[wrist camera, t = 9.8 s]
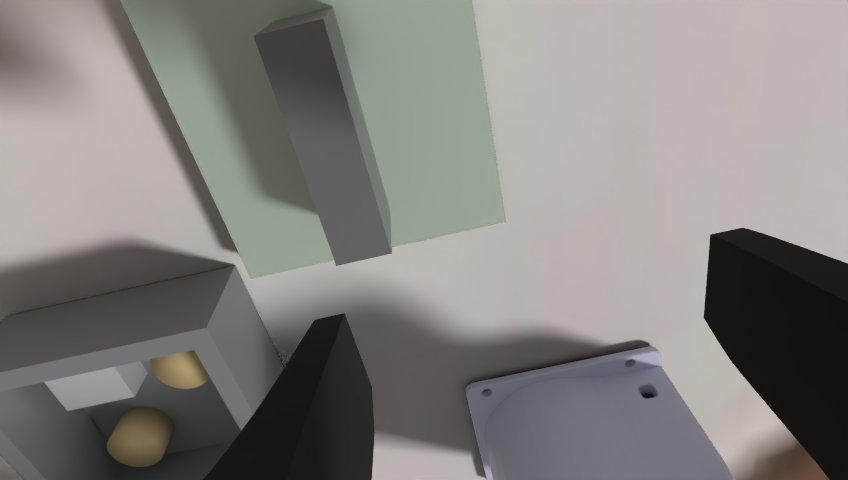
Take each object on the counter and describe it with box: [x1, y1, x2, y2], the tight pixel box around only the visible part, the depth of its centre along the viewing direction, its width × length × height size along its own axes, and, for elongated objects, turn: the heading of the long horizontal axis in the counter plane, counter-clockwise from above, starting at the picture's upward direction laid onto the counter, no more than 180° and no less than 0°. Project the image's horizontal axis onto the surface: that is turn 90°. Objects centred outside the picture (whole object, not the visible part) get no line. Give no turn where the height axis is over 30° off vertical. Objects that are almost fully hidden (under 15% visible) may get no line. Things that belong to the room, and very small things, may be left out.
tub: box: [0, 266, 284, 480], centre depth 22 cm, size 10×10×4 cm
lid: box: [120, 0, 506, 279], centre depth 17 cm, size 10×10×5 cm
